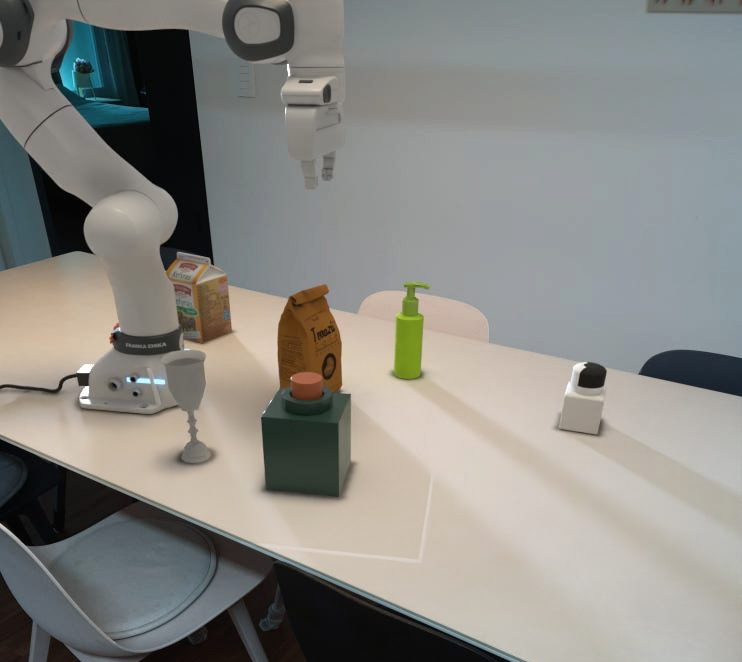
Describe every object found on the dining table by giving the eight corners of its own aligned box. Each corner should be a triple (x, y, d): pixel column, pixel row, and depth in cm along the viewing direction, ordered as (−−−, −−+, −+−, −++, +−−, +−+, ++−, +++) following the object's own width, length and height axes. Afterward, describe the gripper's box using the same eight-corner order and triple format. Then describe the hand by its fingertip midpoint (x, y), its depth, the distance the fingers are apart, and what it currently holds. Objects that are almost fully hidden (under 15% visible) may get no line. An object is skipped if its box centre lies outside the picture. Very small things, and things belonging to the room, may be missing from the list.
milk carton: (232, 331, 181) (225, 253, 171) (202, 343, 173) (193, 262, 163) (201, 323, 186) (192, 247, 176) (170, 335, 178) (160, 256, 168)
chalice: (195, 470, 121) (182, 369, 112) (166, 459, 124) (151, 360, 115) (225, 452, 126) (215, 355, 117) (196, 442, 129) (184, 346, 120)
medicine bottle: (599, 420, 141) (611, 361, 134) (597, 435, 135) (609, 375, 129) (562, 414, 143) (572, 356, 136) (558, 429, 137) (568, 369, 130)
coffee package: (349, 392, 150) (350, 286, 138) (309, 412, 141) (306, 300, 130) (314, 380, 155) (311, 277, 143) (273, 398, 146) (266, 290, 135)
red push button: (288, 400, 111) (287, 382, 109) (295, 388, 115) (295, 370, 113) (319, 402, 110) (318, 384, 108) (325, 390, 114) (324, 373, 113)
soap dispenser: (423, 380, 156) (428, 288, 145) (391, 377, 157) (394, 285, 147) (426, 370, 161) (432, 280, 150) (396, 367, 162) (399, 278, 151)
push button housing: (265, 489, 116) (259, 404, 108) (282, 457, 125) (278, 376, 117) (339, 496, 115) (338, 410, 107) (350, 463, 124) (351, 382, 116)
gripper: (317, 86, 122) (319, 174, 129) (276, 91, 105) (282, 193, 112) (353, 86, 121) (353, 176, 128) (318, 92, 104) (321, 194, 111)
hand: (320, 184), depth 120 cm, fingers open, 8 cm apart
